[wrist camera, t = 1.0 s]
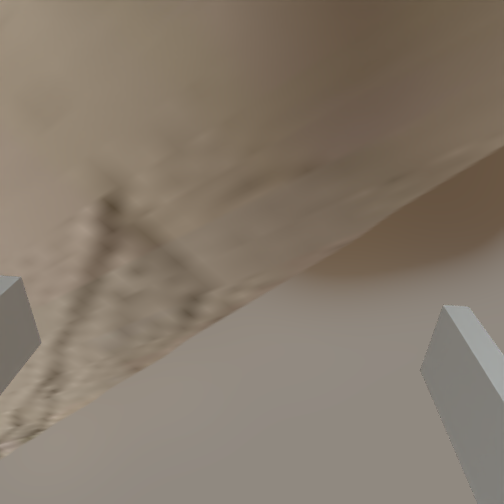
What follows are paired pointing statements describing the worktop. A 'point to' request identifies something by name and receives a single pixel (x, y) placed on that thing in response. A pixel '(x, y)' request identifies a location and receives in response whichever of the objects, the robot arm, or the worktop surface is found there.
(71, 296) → the worktop surface
